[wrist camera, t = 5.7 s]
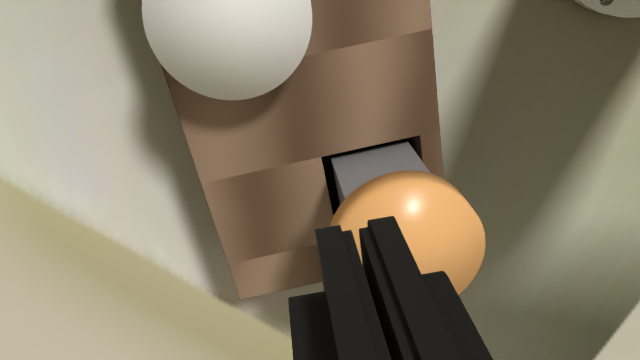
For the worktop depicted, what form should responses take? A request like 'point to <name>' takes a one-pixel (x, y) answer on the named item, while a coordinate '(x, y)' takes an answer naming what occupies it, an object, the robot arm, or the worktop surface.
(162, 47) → the white button
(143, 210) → the worktop surface
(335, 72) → the button panel
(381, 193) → the orange button
